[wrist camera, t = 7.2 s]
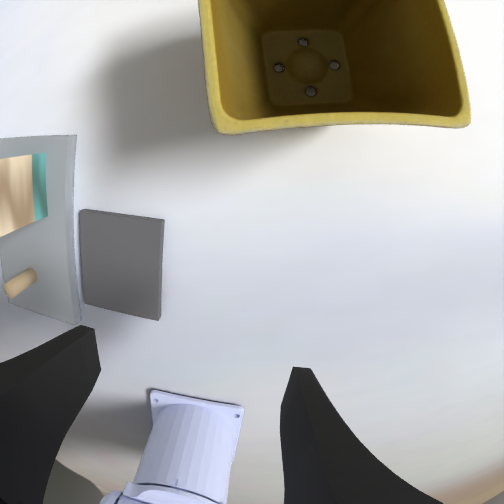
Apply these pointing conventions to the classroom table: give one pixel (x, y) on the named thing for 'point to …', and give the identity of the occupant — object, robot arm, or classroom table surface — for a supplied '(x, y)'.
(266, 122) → the flower pot
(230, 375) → the classroom table surface
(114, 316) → the classroom table surface
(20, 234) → the pin board
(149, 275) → the pad
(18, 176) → the sleeve
